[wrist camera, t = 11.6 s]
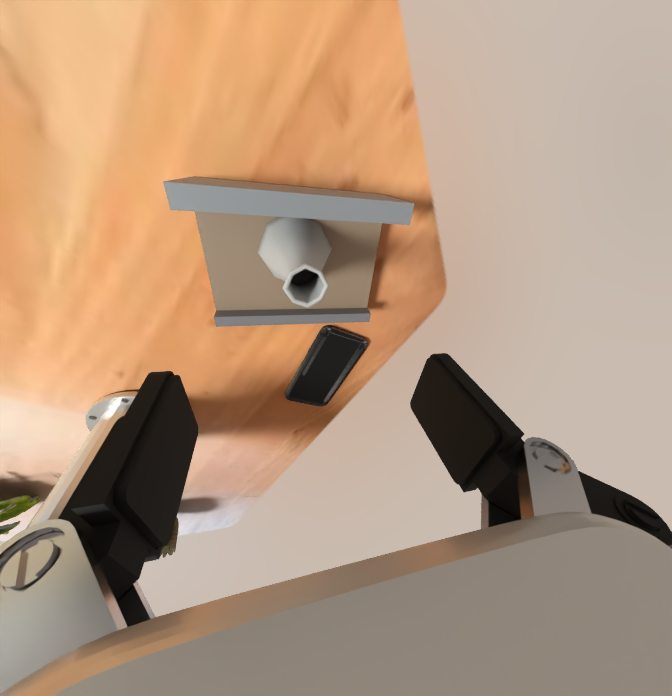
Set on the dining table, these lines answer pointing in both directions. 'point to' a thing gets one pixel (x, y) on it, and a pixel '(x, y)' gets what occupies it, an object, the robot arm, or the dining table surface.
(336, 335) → the phone
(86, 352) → the dining table surface
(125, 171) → the dining table surface
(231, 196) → the wall shelf
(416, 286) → the dining table surface
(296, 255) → the flask
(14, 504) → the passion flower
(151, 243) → the dining table surface
